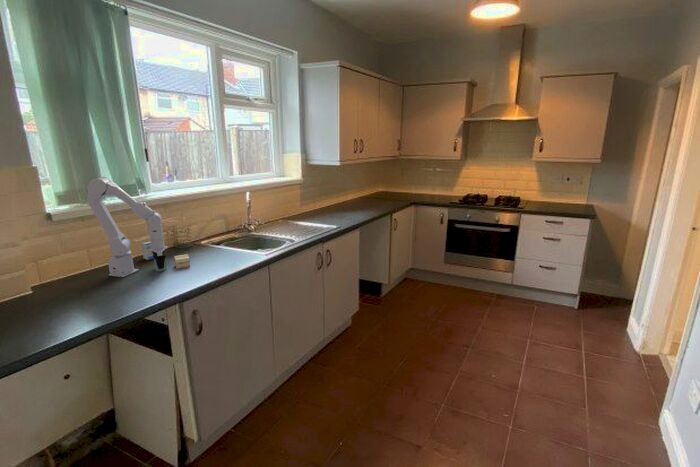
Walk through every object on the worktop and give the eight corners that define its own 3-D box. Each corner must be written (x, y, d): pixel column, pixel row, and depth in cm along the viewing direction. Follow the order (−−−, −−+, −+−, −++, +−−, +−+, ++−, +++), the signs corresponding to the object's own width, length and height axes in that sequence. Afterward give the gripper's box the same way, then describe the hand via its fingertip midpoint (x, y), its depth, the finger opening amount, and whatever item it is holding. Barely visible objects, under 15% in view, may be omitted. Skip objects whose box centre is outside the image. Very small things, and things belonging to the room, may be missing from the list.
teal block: (166, 269, 176) (165, 258, 174) (156, 271, 174) (154, 260, 172) (165, 267, 180) (164, 256, 178) (155, 268, 177) (153, 257, 176)
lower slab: (190, 267, 180) (189, 262, 180) (176, 269, 177) (176, 264, 177) (188, 263, 185) (187, 259, 185) (175, 265, 182) (174, 260, 182)
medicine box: (147, 260, 189) (145, 244, 187) (143, 258, 192) (141, 242, 190) (162, 256, 195) (160, 240, 193) (158, 255, 198) (156, 239, 196)
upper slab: (189, 262, 179) (189, 257, 179) (176, 264, 176) (175, 259, 176) (188, 259, 184) (187, 254, 184) (174, 261, 181) (174, 256, 181)
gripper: (168, 241, 169) (171, 269, 172) (164, 234, 181) (168, 260, 184) (150, 243, 165) (154, 272, 169) (148, 236, 177) (152, 263, 181)
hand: (160, 266), depth 176 cm, fingers open, 7 cm apart
